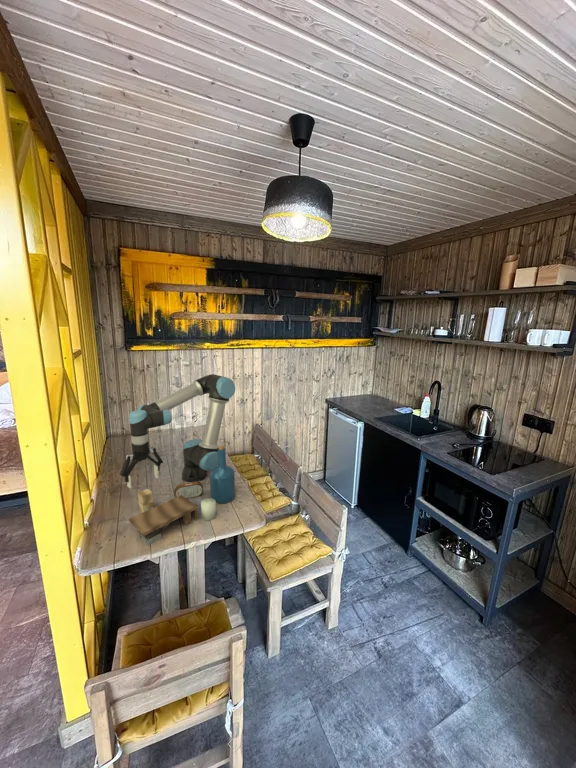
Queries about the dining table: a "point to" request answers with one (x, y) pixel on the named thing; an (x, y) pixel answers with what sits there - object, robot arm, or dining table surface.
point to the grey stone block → (151, 537)
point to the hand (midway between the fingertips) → (143, 482)
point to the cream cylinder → (208, 509)
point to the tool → (146, 501)
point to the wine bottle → (222, 480)
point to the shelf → (165, 515)
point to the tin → (189, 489)
